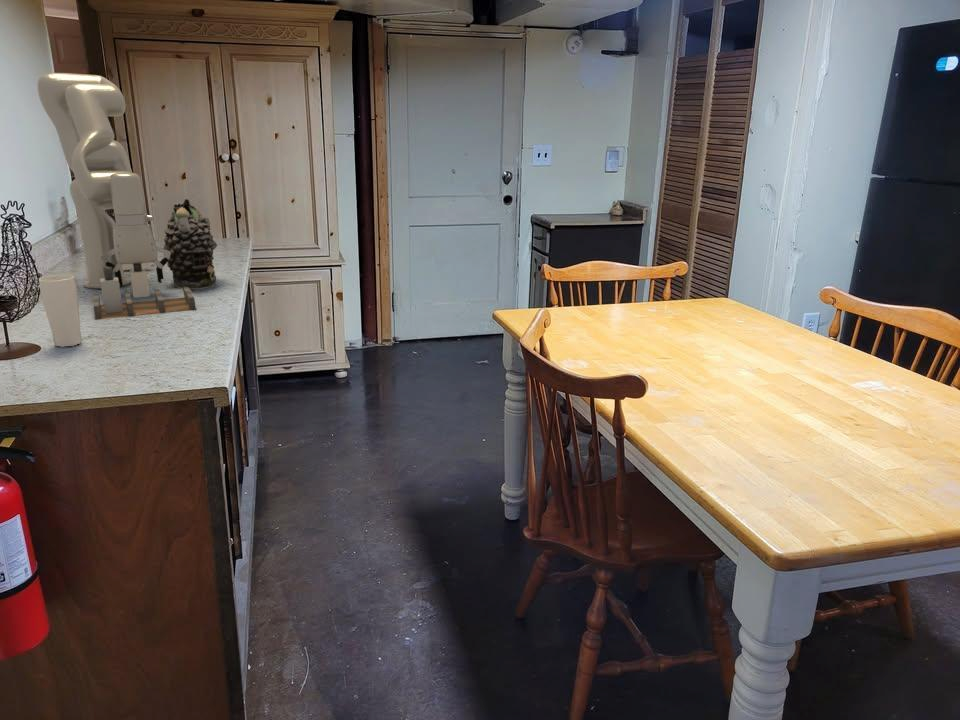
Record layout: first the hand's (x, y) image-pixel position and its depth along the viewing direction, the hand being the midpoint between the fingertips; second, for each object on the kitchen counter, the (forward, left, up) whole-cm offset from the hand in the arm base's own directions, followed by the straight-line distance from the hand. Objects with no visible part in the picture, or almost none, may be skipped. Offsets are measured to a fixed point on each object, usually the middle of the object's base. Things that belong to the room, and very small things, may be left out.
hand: (140, 283), depth 192 cm
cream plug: (-1, 0, -5) cm, 5 cm away
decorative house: (-15, +15, -5) cm, 22 cm away
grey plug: (+14, -7, -3) cm, 16 cm away
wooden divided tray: (+14, 0, -5) cm, 15 cm away
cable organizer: (-49, -1, -5) cm, 49 cm away
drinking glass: (+37, -17, -5) cm, 41 cm away
